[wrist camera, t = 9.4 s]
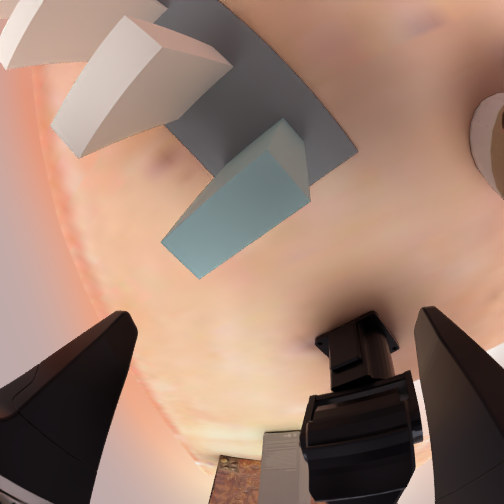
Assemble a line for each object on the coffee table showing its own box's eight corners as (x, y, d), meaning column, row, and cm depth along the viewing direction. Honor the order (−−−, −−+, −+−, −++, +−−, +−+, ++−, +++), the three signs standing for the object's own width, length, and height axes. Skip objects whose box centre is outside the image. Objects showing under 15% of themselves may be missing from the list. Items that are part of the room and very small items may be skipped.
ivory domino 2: (233, 66, 15) (162, 47, 6) (178, 119, 17) (78, 158, 9) (212, 46, 14) (124, 14, 6) (159, 99, 16) (50, 126, 8)
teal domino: (304, 142, 17) (310, 201, 8) (244, 187, 19) (199, 279, 11) (283, 117, 16) (267, 149, 8) (224, 165, 18) (160, 242, 10)
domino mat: (357, 150, 17) (358, 151, 16) (258, 221, 21) (257, 223, 20) (122, -61, 9) (120, -62, 9) (56, 17, 13) (54, 17, 12)
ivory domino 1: (167, 8, 13) (65, -29, 4) (120, 61, 15) (6, 69, 7) (150, -5, 12) (47, -41, 4) (104, 47, 14) (-8, 51, 6)
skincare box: (263, 431, 40) (248, 518, 27) (306, 429, 38) (297, 521, 25) (278, 447, 44) (267, 522, 31) (316, 445, 42) (310, 523, 28)
